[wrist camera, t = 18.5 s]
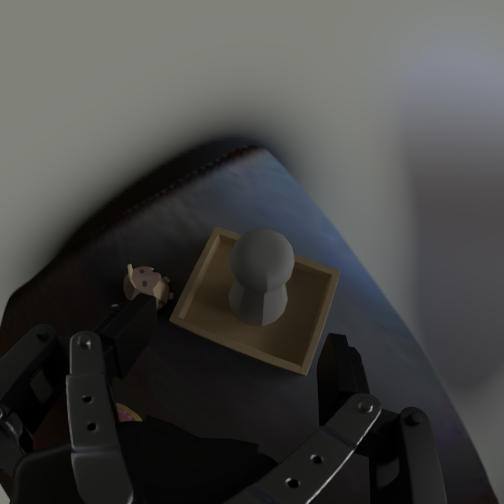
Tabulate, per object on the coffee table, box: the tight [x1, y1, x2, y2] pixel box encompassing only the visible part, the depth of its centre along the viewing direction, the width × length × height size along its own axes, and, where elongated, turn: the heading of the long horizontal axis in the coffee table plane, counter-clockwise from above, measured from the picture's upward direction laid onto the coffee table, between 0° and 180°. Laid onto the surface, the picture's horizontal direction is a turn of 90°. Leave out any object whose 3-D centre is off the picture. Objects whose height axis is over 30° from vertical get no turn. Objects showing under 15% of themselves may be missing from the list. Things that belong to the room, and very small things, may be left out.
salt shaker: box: [228, 229, 294, 326], centre depth 24 cm, size 6×6×13 cm
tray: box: [169, 227, 340, 376], centre depth 29 cm, size 15×12×3 cm
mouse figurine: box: [111, 264, 174, 311], centre depth 27 cm, size 5×8×7 cm, turn 110°
